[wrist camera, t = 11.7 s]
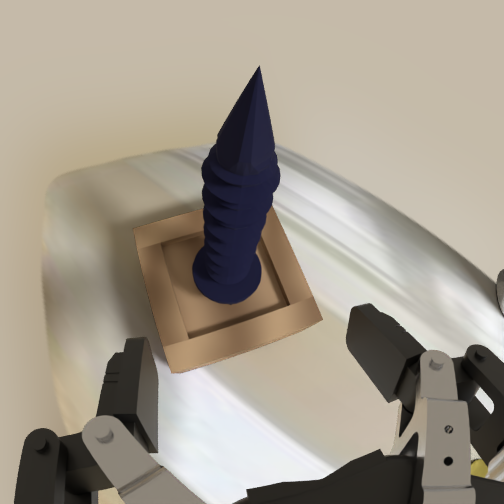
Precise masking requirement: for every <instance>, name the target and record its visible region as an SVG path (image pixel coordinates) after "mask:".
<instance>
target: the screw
mask: <svg viewBox="0 0 504 504" xmlns="http://www.w3.org/2000/svg"><path fill="white" fill-rule="evenodd" d="M217 136H218V138H217V140H216V144H215V145H214V146H213V147H212V148H211V149H210V152H209V155H208V157H207V158H206V159H205V160H204V162H203V165H202V168H201V169H202V178H203V180H204V183H205V184H204V186H203V189H202V199H203V202H204V204H205V205H204V208H203V219H204V226H203V228H204V235H205V239H204V246H203V247H202V248H201V249H200V250H199V251H198V253H197V254H196V256H195V260H194V262H193V265H192V274H193V279H194V282H195V285H196V287H197V288H198V290H199V291H200V292H201V293H202V294H203V295H204V296H205V297H207V298H208V299H210V300H212V301H214V302H217V303H219V304H230V305H232V304H237V303H239V302H242V301H244V300H246V299H247V298H248V297H250V296H251V295H252V294H253V293H254V292H255V291H256V290H257V288H258V286H259V284H260V282H261V275H262V266H261V263H260V260H259V257H258V255H257V254H256V249H257V244H258V242H259V240H260V239H261V233H262V230H263V228H264V226H265V224H266V218H267V215H266V214H267V213H268V212H269V210H270V208H271V206H272V202H273V192H275V191H276V189H277V187H278V185H279V183H280V169H279V167H278V165H277V163H278V160H277V155H276V153H275V151H274V150H275V142H274V137H273V131H272V126H271V120H270V115H269V110H268V106H267V100H266V95H265V90H264V85H263V80H262V75H261V70H260V66H259V67H258V68H257V70H256V71H255V73H254V75H253V76H252V78H251V79H250V81H249V83H248V84H247V86H246V87H245V89H244V91H243V92H242V94H241V95H240V97H239V99H238V100H237V102H236V104H235V105H234V107H233V109H232V110H231V112H230V114H229V116H228V117H227V119H226V121H225V122H224V124H223V126H222V128H221V129H220V131H219V133H218V135H217Z"/></svg>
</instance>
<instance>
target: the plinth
mask: <svg viewBox="0 0 504 504" xmlns="http://www.w3.org/2000/svg"><path fill="white" fill-rule="evenodd" d="M266 215H267V218H266V224H265V226H264V228H263V230H262V233H261V239H260V240H259V242H258V244H257V249H256V254H257V255H258V257H259V260H260V263H261V266H262V275H261V282H260V284H259V286H258V288H257V290H256V291H255V292H254V293H253V294H252V295H251V296H250V297H248V298H247V299H246V300H244V301H242V302H239V303H237V304H232V305H230V304H219V303H217V302H214V301H212V300H210V299H208V298H207V297H205V296H204V295H203V294H202V293H201V292H200V291H199V290H198V288H197V287H196V285H195V282H194V279H193V274H192V265H193V262H194V260H195V256H196V254H197V253H198V251H199V250H200V249H201V248H202V247H203V246H204V239H205V235H204V228H203V226H204V219H203V209H200V210H196V211H192V212H189V213H185V214H181V215H178V216H174V217H170V218H167V219H163V220H160V221H157V222H153V223H150V224H146V225H143V226H140V227H136V228H133V231H134V236H135V241H136V246H137V251H138V256H139V260H140V265H141V269H142V273H143V277H144V281H145V285H146V289H147V293H148V297H149V301H150V305H151V308H152V312H153V316H154V319H155V323H156V326H157V330H158V333H159V336H160V339H161V343H162V346H163V349H164V352H165V355H166V358H167V361H168V364H169V367H170V370H171V373H183V372H187V371H190V370H193V369H197V368H200V367H203V366H206V365H209V364H213V363H216V362H219V361H222V360H225V359H228V358H231V357H234V356H237V355H239V354H242V353H245V352H248V351H251V350H254V349H256V348H259V347H262V346H264V345H267V344H270V343H272V342H275V341H278V340H280V339H283V338H285V337H288V336H290V335H293V334H295V333H298V332H300V331H303V330H305V329H306V328H308V327H310V326H312V325H314V324H316V323H318V322H320V321H321V320H323V318H322V316H321V314H320V311H319V309H318V307H317V304H316V302H315V300H314V297H313V295H312V293H311V290H310V288H309V286H308V283H307V281H306V279H305V276H304V274H303V272H302V270H301V267H300V265H299V263H298V261H297V258H296V256H295V254H294V252H293V250H292V247H291V245H290V243H289V241H288V238H287V236H286V234H285V232H284V230H283V228H282V225H281V223H280V221H279V219H278V217H277V215H276V213H275V210H274V208H273V206H271V208H270V210H269V212H268V213H267V214H266Z"/></svg>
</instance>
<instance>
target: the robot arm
mask: <svg viewBox="0 0 504 504" xmlns="http://www.w3.org/2000/svg"><path fill="white" fill-rule="evenodd" d="M497 296H498V301H499V305H500V308H501V310H502V313H503V314H504V269H503V270H502V271H500V273H499V275H498V278H497ZM346 344H347V347H348V349H349V351H350V352H351V354H352V355H353V356H354V358H355V359H356V360H357V362H358V363H359V364H360V366H361V367H362V368H363V370H364V371H365V372H366V374H367V375H368V376H369V378H370V379H371V380H372V382H373V383H374V385H375V386H376V387H377V389H378V390H379V391H380V393H381V394H382V395H383V397H384V398H385V399H386V401H387V402H388V403H390V402H392V401H394V400H397V399H399V400H400V401H401V403H400V405H399V409H398V418H397V426H396V433H395V440H394V445H393V448H392V450H391V452H390V455H385V456H384V455H383V453H382V452H381V450H380V449H378V450H376V451H374V452H372V453H369V454H367V455H364V456H362V457H360V458H357V459H354V460H352V461H350V462H349V463H347V464H346V465H344V466H343V467H341V468H339V469H338V470H336V471H335V472H333V473H332V474H330V475H328V476H327V477H325V478H323V479H320V480H311V481H296V482H281V483H276V484H272V485H267V486H262V487H257V488H252V489H246V491H247V497H245V498H243V499H240V500H238V501H237V502H235V503H233V504H504V363H503V362H502V361H501V360H500V359H499V358H498V357H497V356H496V355H495V354H494V353H493V352H491V351H490V350H489V349H488V348H486V347H485V346H482V345H471V346H469V347H468V349H467V351H466V353H465V355H464V356H463V357H457V358H450V357H449V356H448V355H447V354H445V353H444V352H441V351H438V350H429V351H427V350H426V349H425V348H424V347H423V346H422V345H421V344H420V343H419V342H418V341H417V340H416V339H415V338H413V337H412V336H411V335H410V334H409V333H408V332H406V330H405V329H404V328H403V327H402V326H400V324H399V323H398V322H397V321H396V320H395V319H394V318H392V317H391V316H389V315H387V314H385V313H383V312H379V311H378V310H377V309H376V308H375V307H374V306H373V305H372V304H370V303H368V304H363V305H359V306H354V307H353V308H352V309H351V312H350V318H349V323H348V329H347V334H346ZM105 373H106V375H105V376H104V381H103V382H104V384H103V385H102V390H101V394H100V399H99V404H98V409H97V414H96V417H95V418H93V419H91V420H90V421H89V422H87V424H86V425H85V426H84V428H83V431H82V432H80V433H77V434H72V435H67V436H63V437H58V436H57V435H56V434H55V433H54V432H53V431H51V430H49V429H46V428H40V429H36V430H34V431H32V432H31V433H30V434H29V435H28V436H27V437H26V439H25V442H24V446H23V450H22V455H21V460H20V465H19V471H18V477H17V484H16V491H15V499H14V504H98V491H99V490H104V489H108V488H112V487H115V488H116V489H117V491H118V492H119V493H118V494H119V496H120V497H121V499H122V500H123V501H124V502H125V504H206V503H205V502H203V501H202V500H201V499H200V498H199V497H197V496H196V495H195V494H194V493H193V492H191V491H190V490H189V489H188V488H187V487H186V486H185V485H184V484H182V483H181V482H180V481H179V480H178V479H177V478H176V477H175V476H174V475H173V474H172V473H171V472H169V471H168V470H167V469H166V468H165V467H164V466H160V465H159V464H158V463H157V462H156V461H155V460H154V459H153V458H152V457H151V456H150V455H149V453H158V373H157V368H156V365H155V362H154V359H153V355H152V352H151V349H150V345H149V342H148V339H147V337H141V338H127V339H126V343H125V347H124V352H120V353H115V354H114V355H113V356H112V358H111V359H110V360H109V361H108V364H107V368H106V372H105ZM480 387H481V388H482V389H483V391H484V392H485V393H486V394H487V395H488V396H489V397H490V398H491V400H492V401H493V403H494V411H493V413H492V414H490V413H489V412H488V410H487V409H486V408H485V407H484V406H483V404H482V403H481V402H480V401H479V400H478V399H477V397H476V396H475V394H476V393H477V391H478V389H479V388H480ZM470 443H471V444H472V446H473V447H474V449H475V450H476V451H477V453H478V454H479V456H480V457H481V459H482V460H483V461H484V463H485V464H486V466H487V467H488V473H487V474H486V476H485V478H483V477H479V476H475V475H471V447H470Z"/></svg>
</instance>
